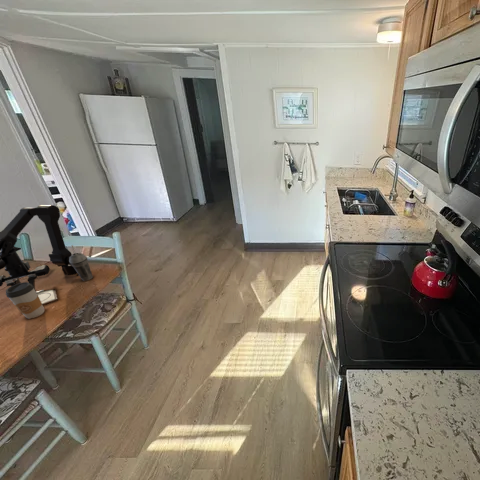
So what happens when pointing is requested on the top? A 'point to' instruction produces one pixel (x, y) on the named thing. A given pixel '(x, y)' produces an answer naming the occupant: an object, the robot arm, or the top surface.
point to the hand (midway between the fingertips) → (30, 290)
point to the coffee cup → (25, 299)
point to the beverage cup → (81, 265)
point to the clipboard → (47, 296)
